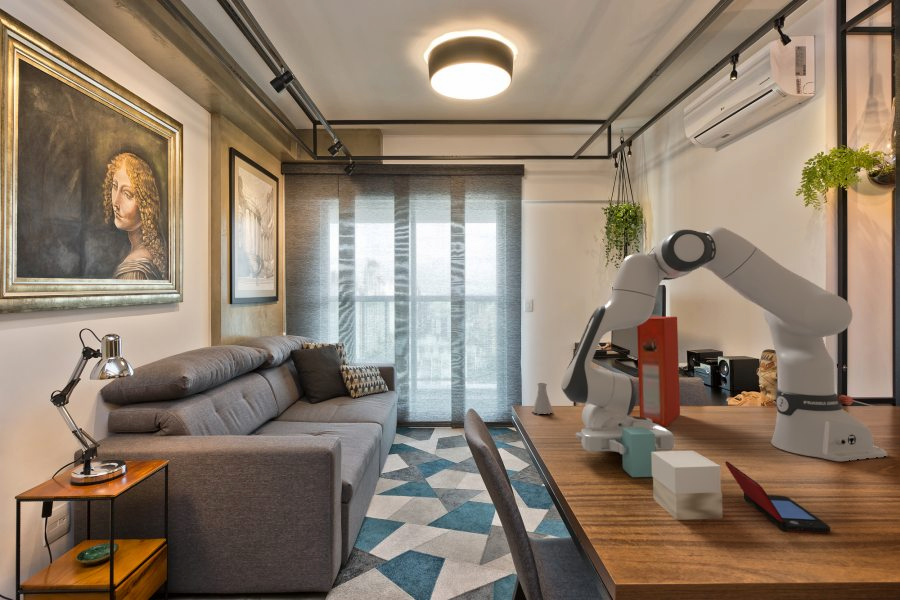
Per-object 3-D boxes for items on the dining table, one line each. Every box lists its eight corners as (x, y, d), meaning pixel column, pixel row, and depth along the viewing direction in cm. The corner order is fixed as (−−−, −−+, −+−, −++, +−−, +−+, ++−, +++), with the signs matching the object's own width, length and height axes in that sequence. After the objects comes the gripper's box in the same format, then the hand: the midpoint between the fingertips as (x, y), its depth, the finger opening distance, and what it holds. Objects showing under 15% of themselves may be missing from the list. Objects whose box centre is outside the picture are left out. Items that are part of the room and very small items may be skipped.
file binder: (638, 422, 135) (636, 318, 136) (653, 411, 149) (651, 316, 149) (667, 427, 130) (665, 318, 131) (680, 415, 144) (678, 316, 144)
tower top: (693, 474, 84) (692, 450, 84) (720, 492, 76) (720, 466, 76) (651, 475, 84) (651, 451, 84) (675, 493, 76) (674, 467, 76)
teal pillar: (645, 467, 98) (644, 427, 98) (655, 476, 93) (654, 433, 93) (622, 468, 98) (621, 427, 98) (632, 477, 93) (631, 434, 93)
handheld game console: (835, 536, 70) (834, 489, 70) (760, 532, 71) (759, 486, 71) (786, 501, 82) (785, 461, 82) (723, 498, 84) (723, 458, 84)
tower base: (695, 498, 84) (694, 474, 84) (722, 519, 76) (722, 492, 76) (653, 499, 83) (653, 475, 83) (676, 520, 75) (676, 494, 75)
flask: (553, 416, 145) (553, 385, 145) (531, 415, 147) (531, 385, 147) (553, 410, 152) (552, 381, 152) (531, 410, 154) (531, 381, 154)
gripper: (572, 419, 109) (591, 436, 95) (656, 417, 109) (686, 434, 95) (573, 445, 108) (592, 466, 95) (656, 443, 109) (687, 464, 95)
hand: (640, 450), depth 95 cm, fingers closed on teal pillar, 5 cm apart
